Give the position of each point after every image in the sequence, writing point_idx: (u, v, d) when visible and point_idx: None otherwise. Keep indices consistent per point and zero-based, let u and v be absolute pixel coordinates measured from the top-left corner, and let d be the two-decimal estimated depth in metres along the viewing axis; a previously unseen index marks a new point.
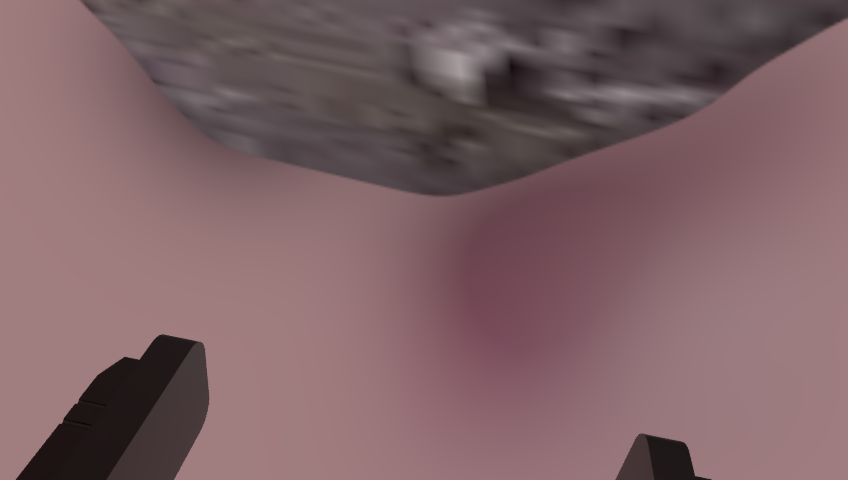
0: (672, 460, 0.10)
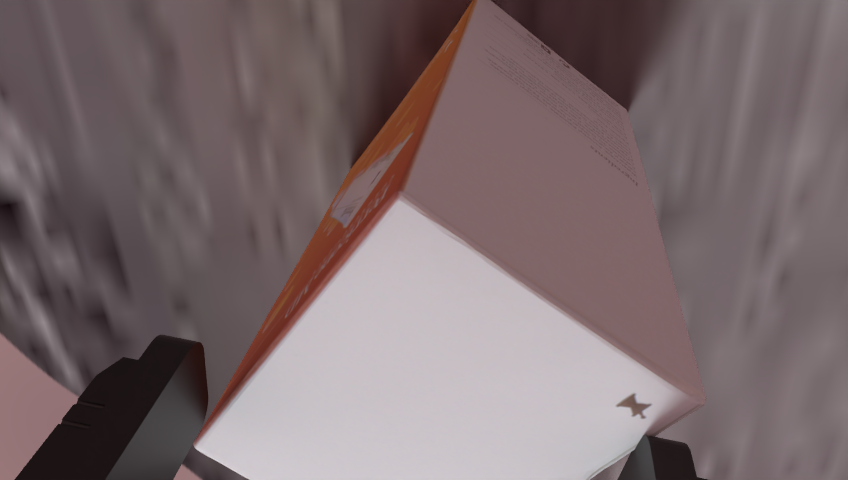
0: (674, 461, 0.10)
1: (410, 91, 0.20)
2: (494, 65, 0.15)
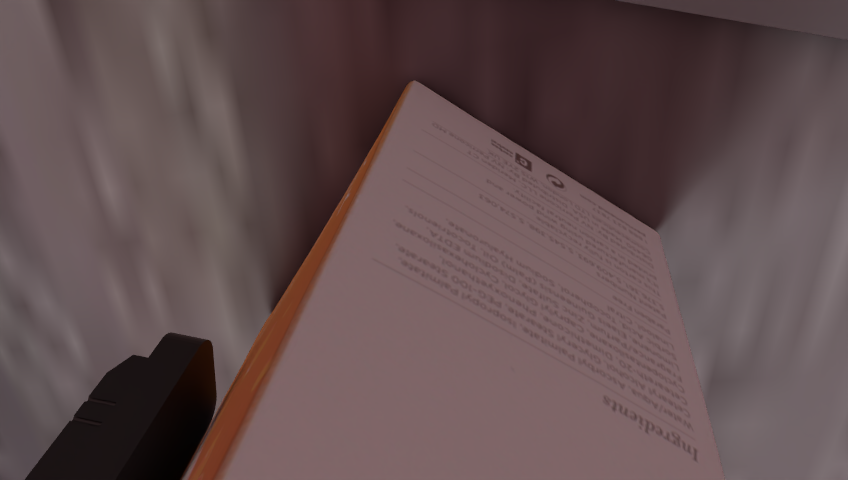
0: None
1: (317, 239, 0.13)
2: (410, 262, 0.08)
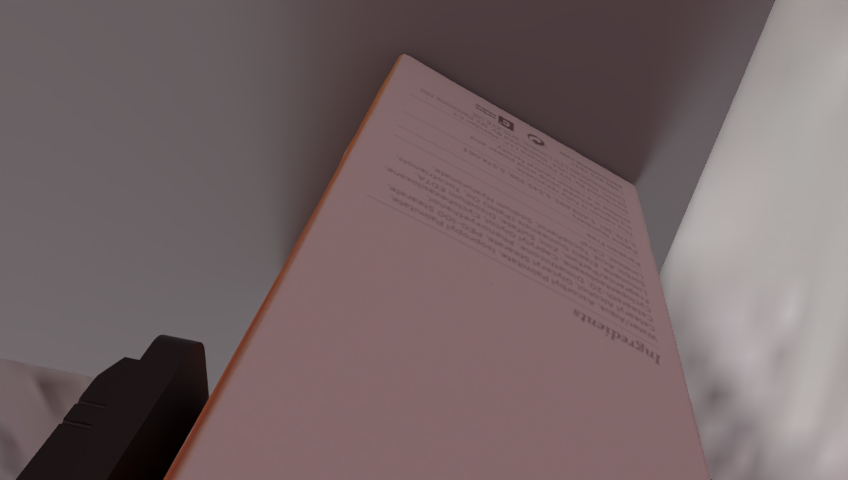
0: None
1: None
2: (400, 199, 0.09)
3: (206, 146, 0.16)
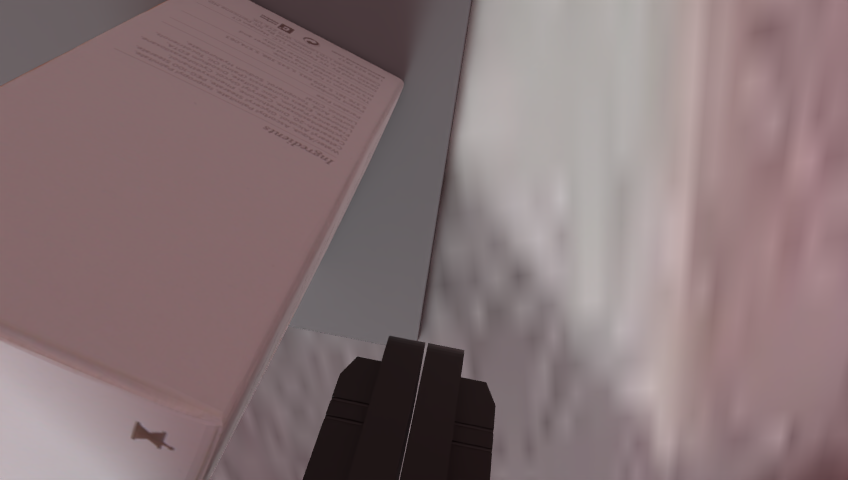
0: (444, 362, 0.12)
1: None
2: (143, 54, 0.14)
3: None
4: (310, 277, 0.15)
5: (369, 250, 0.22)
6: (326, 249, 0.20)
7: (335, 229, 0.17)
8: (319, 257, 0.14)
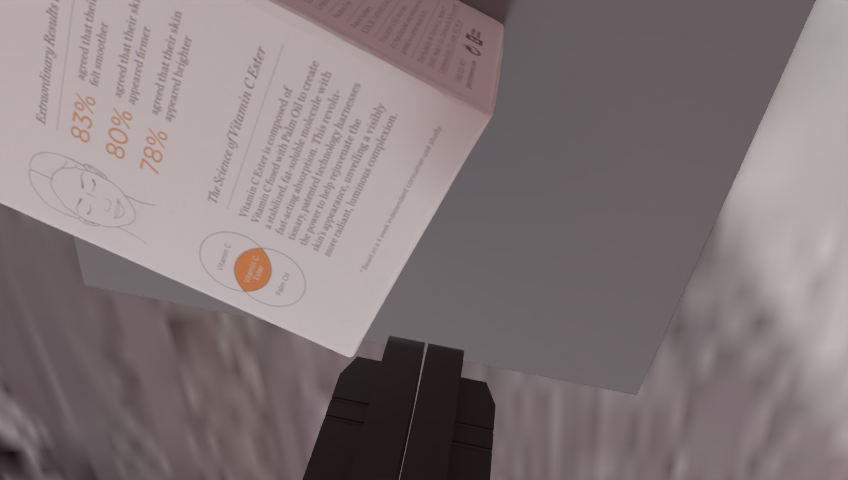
0: (444, 362, 0.12)
1: None
2: None
3: None
4: (154, 85, 0.13)
5: (612, 297, 0.22)
6: (313, 267, 0.15)
7: (264, 153, 0.14)
8: (156, 51, 0.13)
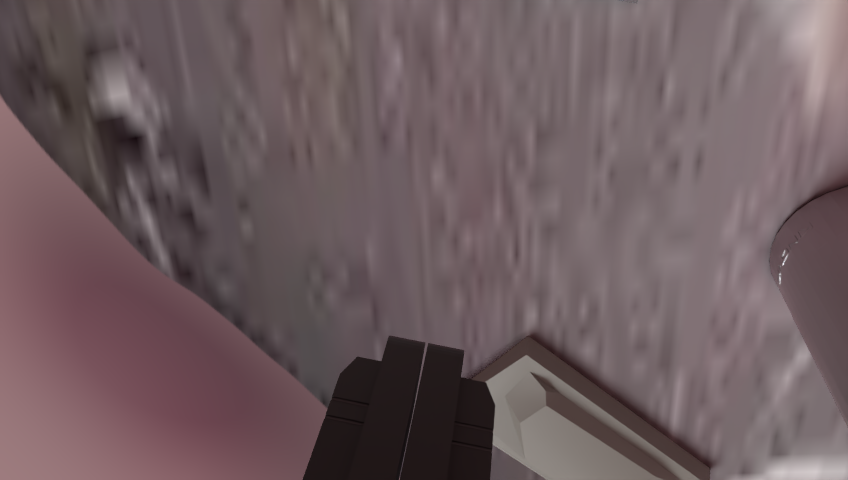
0: (444, 362, 0.12)
1: None
2: None
3: None
4: None
5: None
6: None
7: None
8: None
